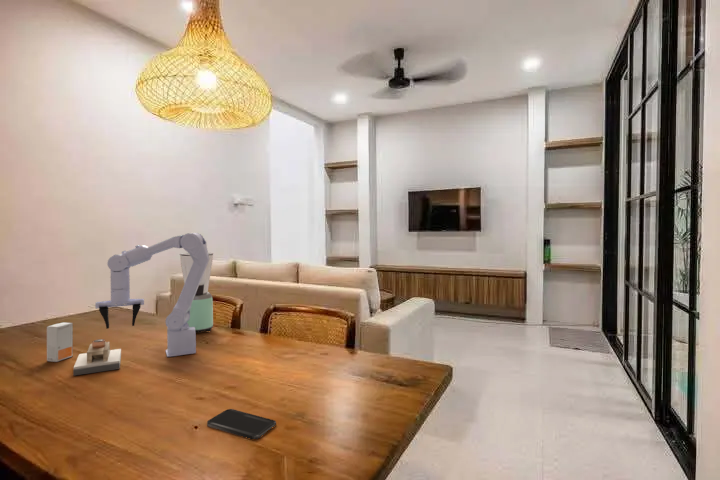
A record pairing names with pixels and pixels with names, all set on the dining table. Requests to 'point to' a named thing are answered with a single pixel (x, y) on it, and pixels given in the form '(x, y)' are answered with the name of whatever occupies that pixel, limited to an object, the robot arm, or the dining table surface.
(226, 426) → the phone
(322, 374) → the dining table surface
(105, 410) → the dining table surface
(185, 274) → the juicer
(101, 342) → the drum
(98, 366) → the dock
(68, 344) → the skincare box
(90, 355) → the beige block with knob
